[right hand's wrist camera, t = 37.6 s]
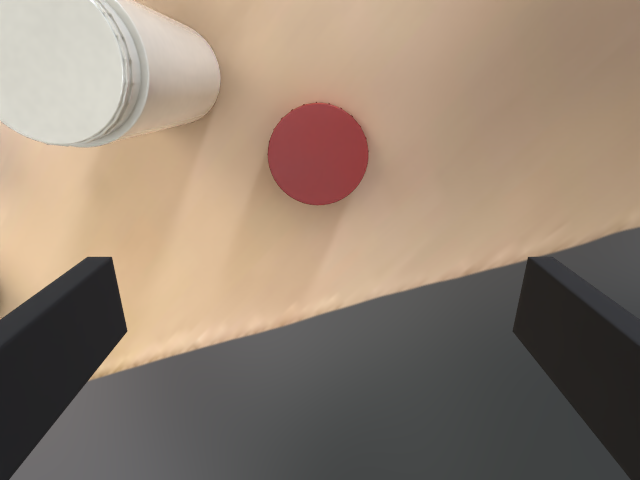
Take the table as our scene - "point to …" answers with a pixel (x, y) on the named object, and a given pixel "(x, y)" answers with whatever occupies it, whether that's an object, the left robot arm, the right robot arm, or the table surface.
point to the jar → (100, 71)
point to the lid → (318, 154)
